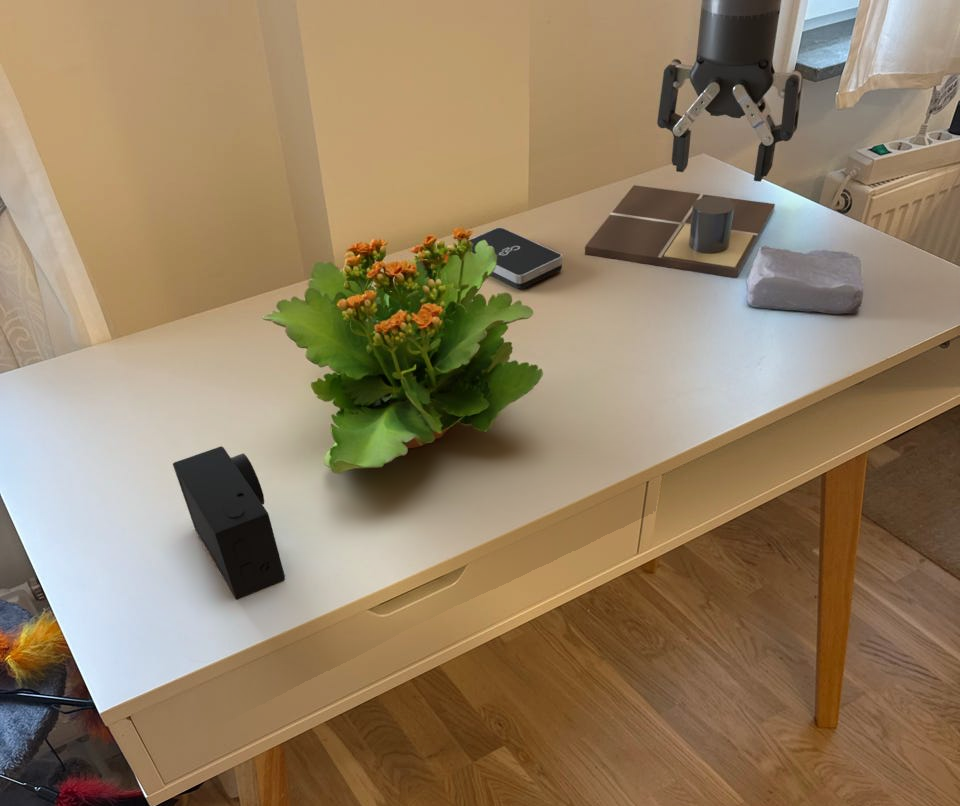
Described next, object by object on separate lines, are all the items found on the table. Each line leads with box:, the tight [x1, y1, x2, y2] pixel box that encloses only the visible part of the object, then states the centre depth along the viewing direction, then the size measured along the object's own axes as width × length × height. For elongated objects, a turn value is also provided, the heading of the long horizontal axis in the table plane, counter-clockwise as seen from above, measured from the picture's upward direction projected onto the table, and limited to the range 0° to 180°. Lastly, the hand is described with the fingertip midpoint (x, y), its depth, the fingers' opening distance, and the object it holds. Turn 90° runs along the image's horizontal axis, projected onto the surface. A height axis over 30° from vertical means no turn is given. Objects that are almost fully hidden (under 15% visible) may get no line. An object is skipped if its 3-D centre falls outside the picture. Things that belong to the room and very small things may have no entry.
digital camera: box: [172, 446, 286, 600], centre depth 77 cm, size 10×5×7 cm, turn 30°
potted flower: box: [262, 227, 544, 475], centre depth 86 cm, size 25×24×18 cm
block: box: [746, 245, 864, 315], centre depth 104 cm, size 12×5×10 cm
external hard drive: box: [468, 226, 563, 290], centre depth 111 cm, size 7×11×2 cm, turn 41°
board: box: [584, 184, 776, 279], centre depth 115 cm, size 18×18×1 cm
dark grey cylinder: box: [689, 196, 735, 254], centre depth 109 cm, size 5×5×4 cm
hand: (720, 174), depth 105 cm, fingers open, 8 cm apart
